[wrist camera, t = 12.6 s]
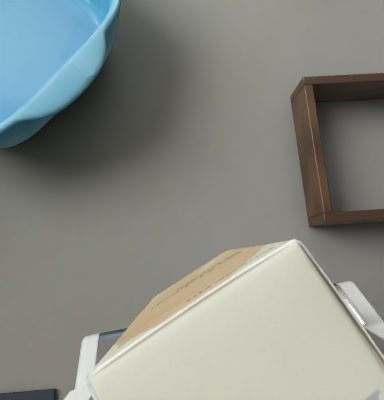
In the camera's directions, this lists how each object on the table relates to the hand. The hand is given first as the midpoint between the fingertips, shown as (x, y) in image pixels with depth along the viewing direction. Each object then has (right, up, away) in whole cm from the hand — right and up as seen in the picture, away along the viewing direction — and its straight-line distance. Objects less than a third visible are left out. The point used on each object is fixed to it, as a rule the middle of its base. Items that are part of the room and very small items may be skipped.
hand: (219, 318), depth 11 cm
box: (0, -2, +6) cm, 6 cm away
